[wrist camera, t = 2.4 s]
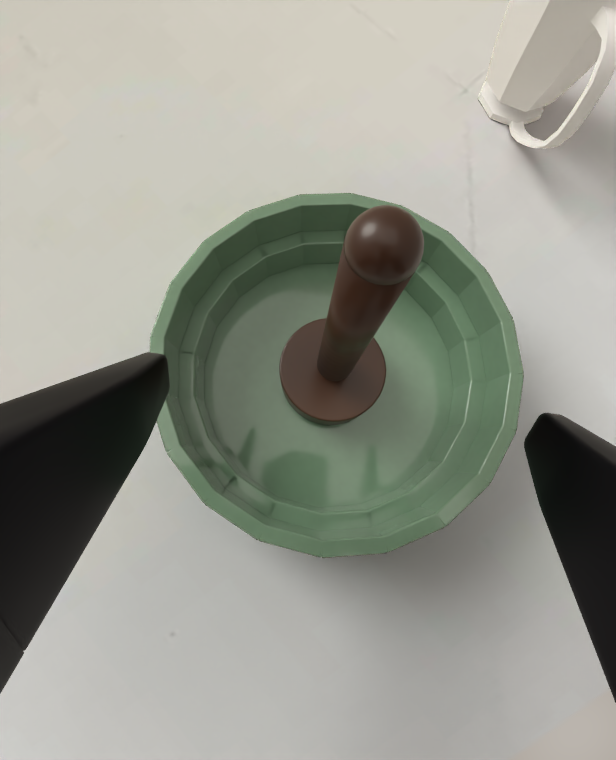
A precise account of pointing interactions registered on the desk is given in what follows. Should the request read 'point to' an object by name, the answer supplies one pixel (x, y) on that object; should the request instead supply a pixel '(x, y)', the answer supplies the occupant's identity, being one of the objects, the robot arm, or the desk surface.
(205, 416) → the bowl
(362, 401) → the knob-topped peg stand
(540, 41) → the cup
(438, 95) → the desk surface
